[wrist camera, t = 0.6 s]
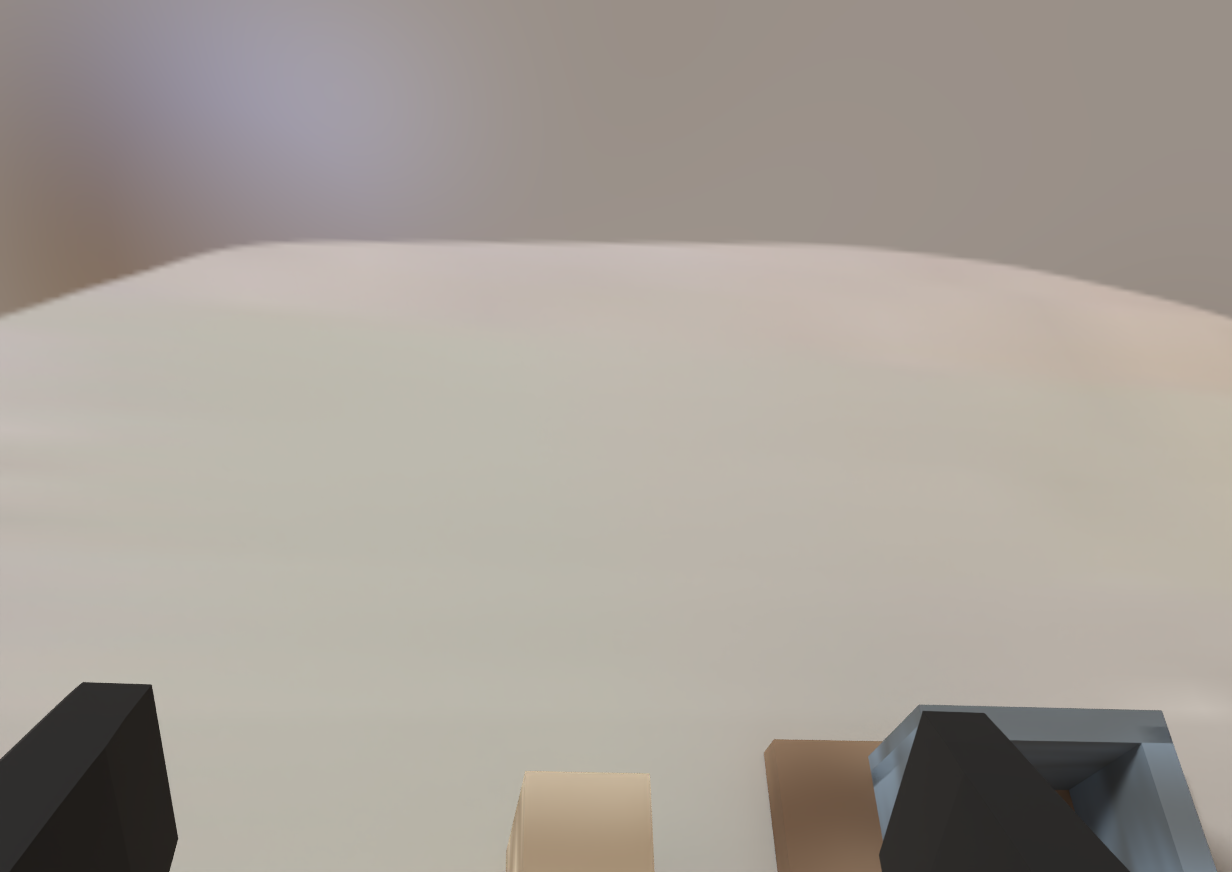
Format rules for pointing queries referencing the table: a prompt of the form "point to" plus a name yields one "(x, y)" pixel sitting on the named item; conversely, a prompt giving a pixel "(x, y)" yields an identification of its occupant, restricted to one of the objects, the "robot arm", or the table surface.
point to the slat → (582, 823)
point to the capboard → (1049, 739)
